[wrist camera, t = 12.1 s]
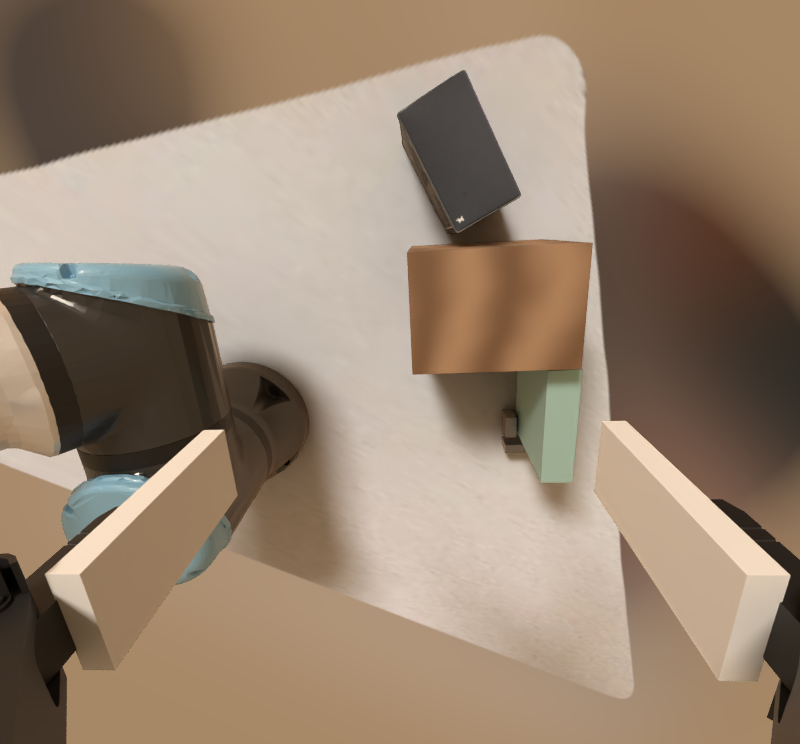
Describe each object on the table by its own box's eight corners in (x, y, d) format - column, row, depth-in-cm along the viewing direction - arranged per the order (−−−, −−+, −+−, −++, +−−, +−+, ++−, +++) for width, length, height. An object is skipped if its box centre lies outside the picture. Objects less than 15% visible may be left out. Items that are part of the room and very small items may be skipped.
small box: (503, 204, 44) (526, 196, 34) (448, 236, 45) (455, 238, 35) (456, 104, 41) (467, 64, 31) (399, 141, 42) (392, 114, 33)
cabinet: (415, 335, 49) (412, 374, 36) (411, 246, 46) (407, 252, 32) (537, 330, 48) (581, 368, 35) (542, 239, 45) (592, 242, 31)
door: (514, 427, 52) (540, 482, 41) (518, 338, 48) (547, 370, 37) (539, 427, 52) (572, 482, 40) (544, 337, 48) (582, 369, 37)
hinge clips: (501, 442, 53) (505, 452, 50) (504, 338, 48) (508, 343, 46) (553, 441, 52) (559, 451, 50) (561, 336, 48) (568, 341, 46)
